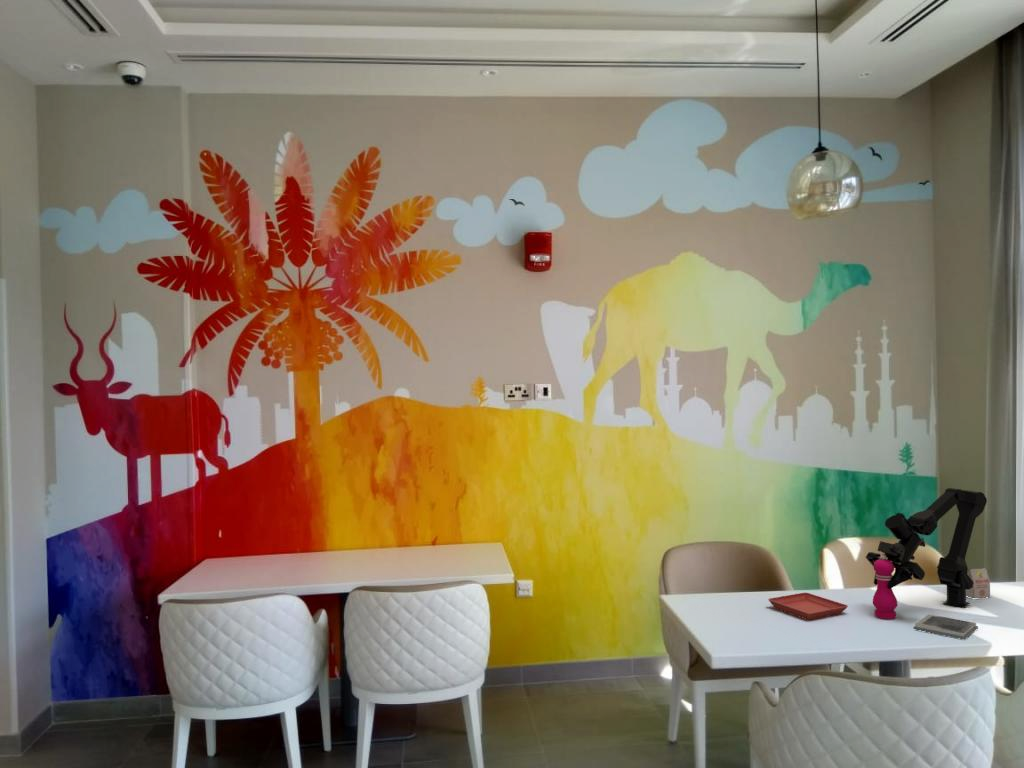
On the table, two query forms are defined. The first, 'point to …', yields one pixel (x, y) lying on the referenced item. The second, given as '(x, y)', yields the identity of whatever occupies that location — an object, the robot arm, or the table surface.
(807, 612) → the plant saucer
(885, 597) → the pepper mill
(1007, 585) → the table surface
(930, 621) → the silver dock
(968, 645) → the table surface
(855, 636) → the table surface
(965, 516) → the robot arm
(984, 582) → the tea bag
